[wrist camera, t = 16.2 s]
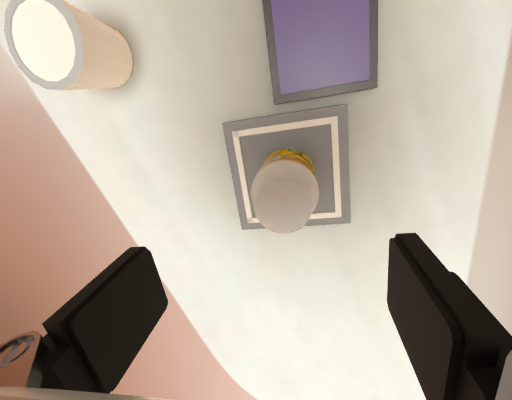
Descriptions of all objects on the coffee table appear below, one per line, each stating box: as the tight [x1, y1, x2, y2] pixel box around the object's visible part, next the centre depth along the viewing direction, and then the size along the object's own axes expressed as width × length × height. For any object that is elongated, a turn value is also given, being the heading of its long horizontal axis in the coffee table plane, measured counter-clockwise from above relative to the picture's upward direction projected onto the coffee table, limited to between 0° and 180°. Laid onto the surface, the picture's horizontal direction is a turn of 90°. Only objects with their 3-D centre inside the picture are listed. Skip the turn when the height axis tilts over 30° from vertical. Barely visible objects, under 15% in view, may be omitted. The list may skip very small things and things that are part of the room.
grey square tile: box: [222, 104, 350, 230], centre depth 26 cm, size 12×12×1 cm
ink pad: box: [262, 0, 378, 104], centre depth 21 cm, size 10×9×1 cm
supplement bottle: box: [251, 148, 319, 233], centre depth 21 cm, size 5×5×10 cm
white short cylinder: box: [4, 0, 133, 90], centre depth 22 cm, size 7×7×7 cm
